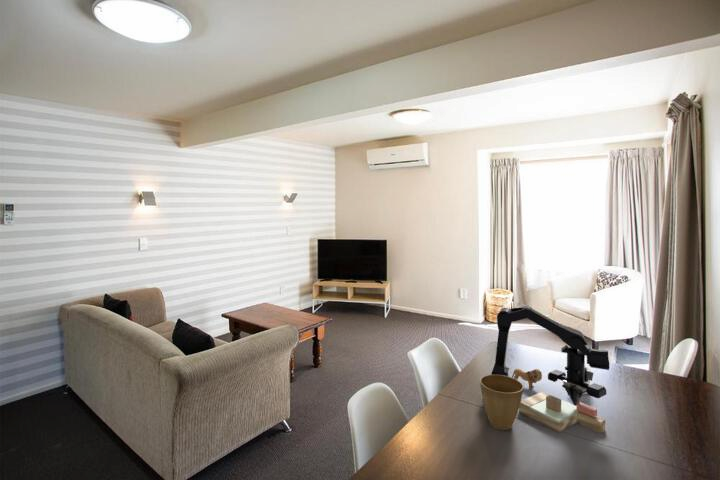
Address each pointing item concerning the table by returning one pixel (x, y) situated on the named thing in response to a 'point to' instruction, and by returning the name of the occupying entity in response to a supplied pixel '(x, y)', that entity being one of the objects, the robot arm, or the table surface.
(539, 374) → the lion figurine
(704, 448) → the table surface
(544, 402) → the lid
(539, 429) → the table surface
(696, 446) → the table surface
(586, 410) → the block
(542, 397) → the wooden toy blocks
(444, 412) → the table surface
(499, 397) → the plant pot
